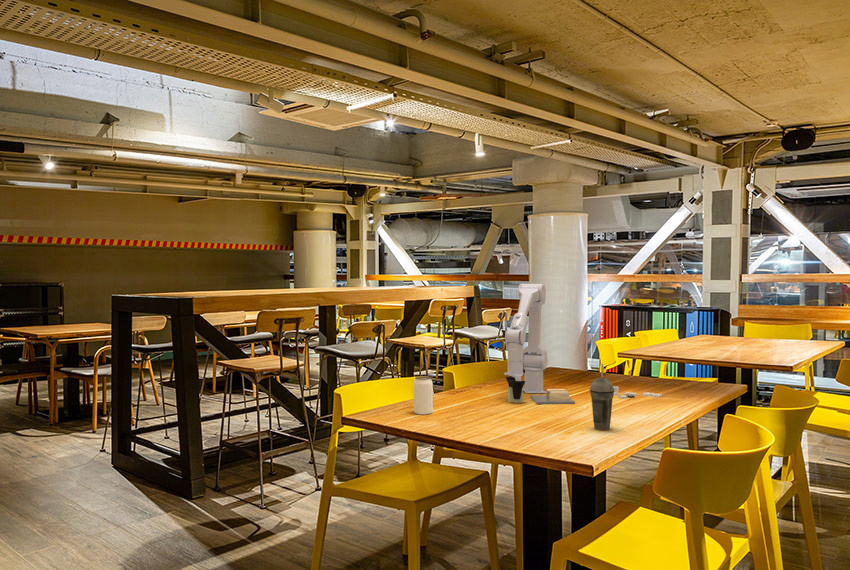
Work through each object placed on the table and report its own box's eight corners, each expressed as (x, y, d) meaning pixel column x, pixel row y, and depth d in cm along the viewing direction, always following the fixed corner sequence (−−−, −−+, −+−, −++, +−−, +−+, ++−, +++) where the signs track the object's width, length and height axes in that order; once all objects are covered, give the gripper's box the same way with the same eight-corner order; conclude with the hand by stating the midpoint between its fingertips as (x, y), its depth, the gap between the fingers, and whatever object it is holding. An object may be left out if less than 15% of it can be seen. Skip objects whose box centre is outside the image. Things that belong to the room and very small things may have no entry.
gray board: (530, 397, 242) (530, 395, 242) (566, 397, 243) (566, 395, 243) (537, 404, 229) (537, 401, 229) (575, 403, 230) (575, 401, 230)
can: (415, 415, 211) (415, 379, 210) (412, 411, 217) (412, 376, 217) (434, 414, 212) (434, 379, 211) (430, 410, 218) (430, 376, 218)
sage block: (507, 400, 238) (507, 386, 238) (520, 400, 238) (520, 386, 238) (509, 402, 233) (509, 389, 233) (523, 402, 233) (523, 389, 233)
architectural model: (645, 405, 230) (645, 399, 230) (584, 397, 244) (584, 392, 244) (662, 396, 246) (662, 391, 246) (604, 390, 260) (604, 385, 260)
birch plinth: (546, 397, 239) (546, 389, 239) (564, 396, 239) (564, 389, 239) (550, 400, 232) (550, 392, 232) (569, 400, 232) (569, 392, 232)
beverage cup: (613, 426, 195) (613, 361, 194) (615, 432, 187) (615, 365, 187) (589, 425, 196) (589, 361, 196) (589, 430, 189) (590, 364, 189)
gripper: (501, 358, 242) (501, 393, 242) (507, 363, 228) (507, 401, 228) (519, 358, 242) (519, 393, 243) (527, 363, 228) (526, 400, 228)
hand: (515, 397), depth 235 cm, fingers open, 7 cm apart
